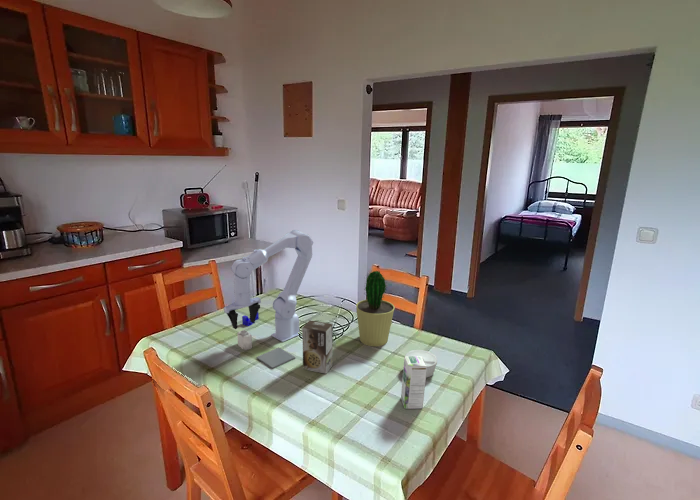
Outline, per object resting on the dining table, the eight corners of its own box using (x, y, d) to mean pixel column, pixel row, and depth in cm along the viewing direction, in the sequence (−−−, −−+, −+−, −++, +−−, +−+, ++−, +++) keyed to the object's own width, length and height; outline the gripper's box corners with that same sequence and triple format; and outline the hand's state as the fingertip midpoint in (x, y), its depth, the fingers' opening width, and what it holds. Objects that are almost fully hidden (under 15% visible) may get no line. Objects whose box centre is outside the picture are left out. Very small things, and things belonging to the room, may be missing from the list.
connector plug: (244, 341, 149) (243, 327, 147) (253, 347, 144) (253, 333, 143) (236, 344, 146) (235, 330, 145) (245, 350, 142) (245, 336, 140)
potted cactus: (387, 352, 143) (392, 278, 136) (350, 345, 148) (352, 272, 141) (396, 334, 158) (400, 266, 150) (361, 328, 162) (363, 262, 155)
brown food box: (333, 365, 134) (333, 323, 130) (326, 374, 128) (326, 331, 124) (309, 360, 137) (309, 319, 133) (302, 369, 131) (301, 326, 127)
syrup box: (400, 397, 117) (403, 355, 113) (418, 396, 117) (422, 355, 114) (404, 409, 111) (407, 366, 108) (423, 408, 112) (427, 365, 108)
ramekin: (416, 383, 124) (418, 369, 123) (397, 366, 134) (398, 353, 132) (442, 375, 129) (444, 361, 128) (422, 359, 139) (423, 347, 138)
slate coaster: (278, 348, 144) (278, 347, 144) (295, 358, 137) (295, 357, 137) (256, 358, 137) (256, 356, 137) (272, 369, 130) (272, 367, 130)
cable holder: (248, 326, 162) (248, 318, 161) (242, 324, 164) (242, 316, 163) (261, 320, 169) (260, 311, 168) (255, 318, 170) (255, 310, 169)
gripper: (253, 284, 148) (254, 316, 151) (219, 293, 137) (221, 327, 141) (263, 289, 143) (264, 321, 146) (228, 298, 133) (230, 333, 136)
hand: (243, 325), depth 143 cm, fingers open, 7 cm apart
